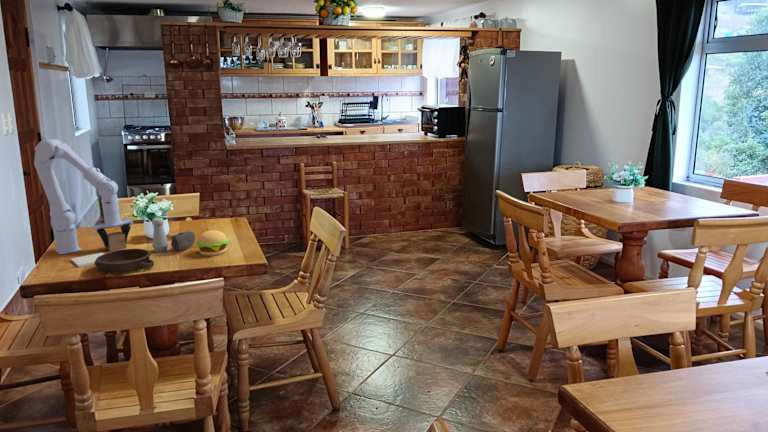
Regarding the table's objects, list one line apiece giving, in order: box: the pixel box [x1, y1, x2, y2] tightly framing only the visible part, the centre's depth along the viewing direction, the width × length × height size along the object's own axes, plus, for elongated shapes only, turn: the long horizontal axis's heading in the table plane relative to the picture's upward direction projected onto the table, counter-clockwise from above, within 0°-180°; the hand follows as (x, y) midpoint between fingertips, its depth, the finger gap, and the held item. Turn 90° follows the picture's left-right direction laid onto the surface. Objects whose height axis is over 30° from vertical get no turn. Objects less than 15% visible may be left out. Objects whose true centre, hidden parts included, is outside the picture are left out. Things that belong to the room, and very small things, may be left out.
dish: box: [94, 248, 155, 274], centre depth 206 cm, size 18×22×5 cm
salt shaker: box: [151, 217, 169, 253], centre depth 225 cm, size 6×6×13 cm
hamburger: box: [196, 229, 230, 257], centre depth 222 cm, size 12×12×9 cm
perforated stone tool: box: [170, 230, 196, 253], centre depth 228 cm, size 15×5×7 cm, turn 166°
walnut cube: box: [105, 231, 127, 252], centre depth 230 cm, size 6×6×6 cm
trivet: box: [70, 252, 105, 268], centre depth 215 cm, size 11×11×1 cm
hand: (115, 245), depth 231 cm, fingers open, 6 cm apart
